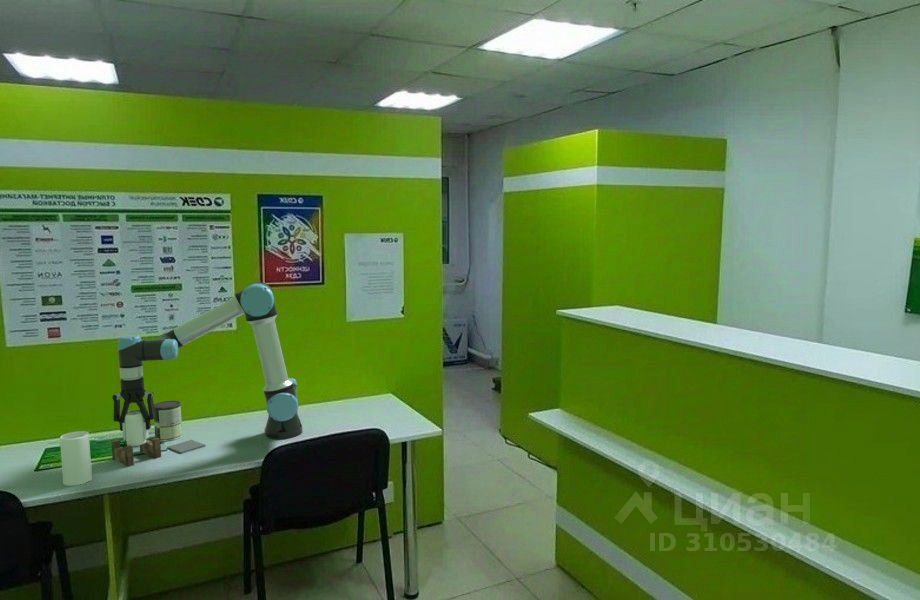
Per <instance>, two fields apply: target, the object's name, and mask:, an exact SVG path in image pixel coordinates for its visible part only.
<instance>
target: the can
mask: <svg viewBox="0 0 920 600" xmlns="http://www.w3.org/2000/svg"><path fill="white" fill-rule="evenodd" d="M144 421H145V420H144V418H143V415H142V413H141V411H140V409H134V410H133V409H132V410H128V412H127V413H126V416H125V428H126V440H125V441H126V446H129V445H131V446H133V447H140V445H143V444H145V442H146V439H144V433H143V422H144Z"/></svg>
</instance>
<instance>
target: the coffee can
mask: <svg viewBox="0 0 920 600" xmlns="http://www.w3.org/2000/svg"><path fill="white" fill-rule="evenodd" d="M181 405H182V402H181V401H179V400H164V401H159V402H157V403H154V409H155V415H156V417H155V418H154V419H153V423H154V424H153V425H154V438H160V442H171V441H175V440H179V439H181V438H182V437H183V427H182V426H183V425H182V424H183V423H182V409H181V407H182V406H181Z"/></svg>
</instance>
